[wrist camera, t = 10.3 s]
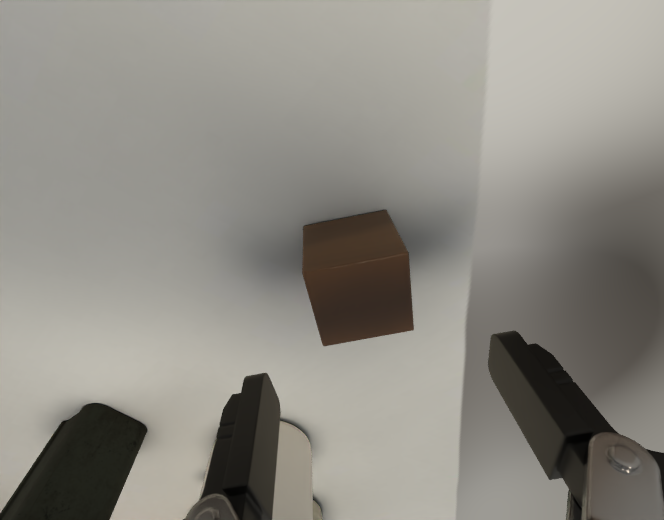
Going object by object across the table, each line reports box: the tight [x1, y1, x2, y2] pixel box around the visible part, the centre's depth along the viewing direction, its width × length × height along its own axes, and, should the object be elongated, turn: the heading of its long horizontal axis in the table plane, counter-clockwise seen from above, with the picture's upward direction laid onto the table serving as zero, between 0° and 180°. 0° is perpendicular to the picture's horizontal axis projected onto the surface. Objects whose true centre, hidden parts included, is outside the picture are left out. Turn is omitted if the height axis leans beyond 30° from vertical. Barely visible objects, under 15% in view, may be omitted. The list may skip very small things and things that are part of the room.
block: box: [302, 210, 414, 346], centre depth 17 cm, size 4×4×4 cm
